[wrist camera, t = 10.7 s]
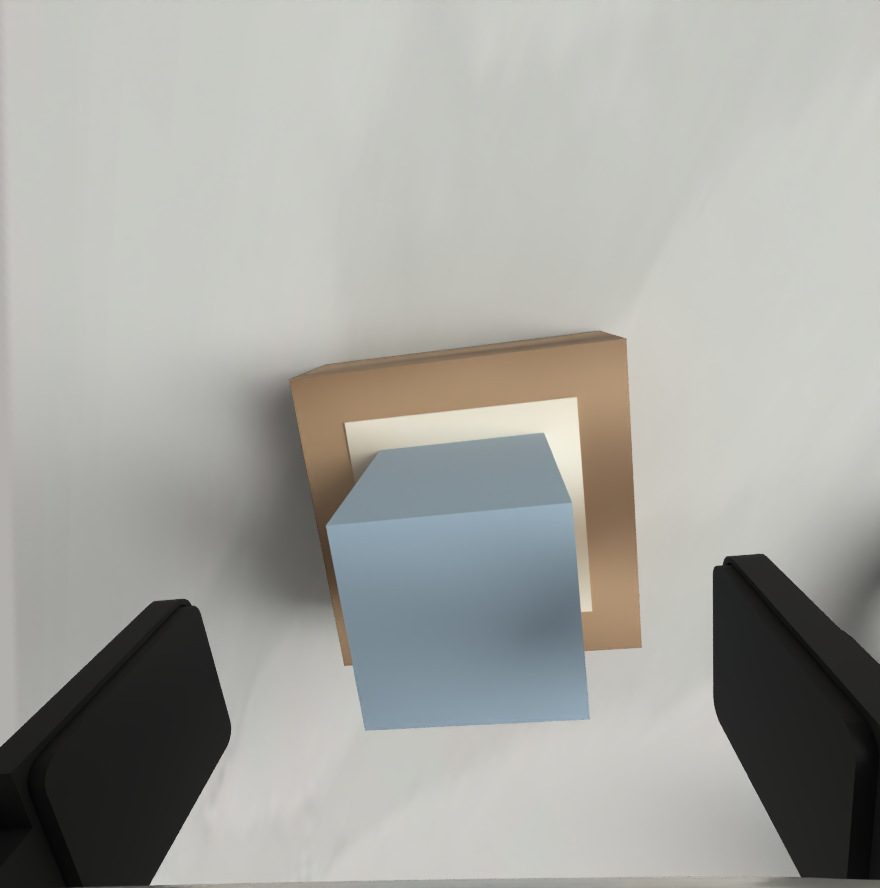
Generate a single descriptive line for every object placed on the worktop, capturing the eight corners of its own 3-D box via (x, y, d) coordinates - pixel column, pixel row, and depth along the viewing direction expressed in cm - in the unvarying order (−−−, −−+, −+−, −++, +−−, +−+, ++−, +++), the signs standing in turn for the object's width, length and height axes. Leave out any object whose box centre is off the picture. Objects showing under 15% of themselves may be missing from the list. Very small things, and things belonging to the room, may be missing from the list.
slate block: (380, 449, 17) (325, 525, 12) (544, 432, 17) (572, 502, 11) (403, 596, 19) (364, 730, 13) (557, 584, 18) (589, 719, 12)
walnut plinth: (325, 364, 21) (287, 379, 17) (599, 330, 20) (626, 338, 16) (368, 605, 23) (343, 667, 20) (615, 587, 22) (642, 649, 18)
